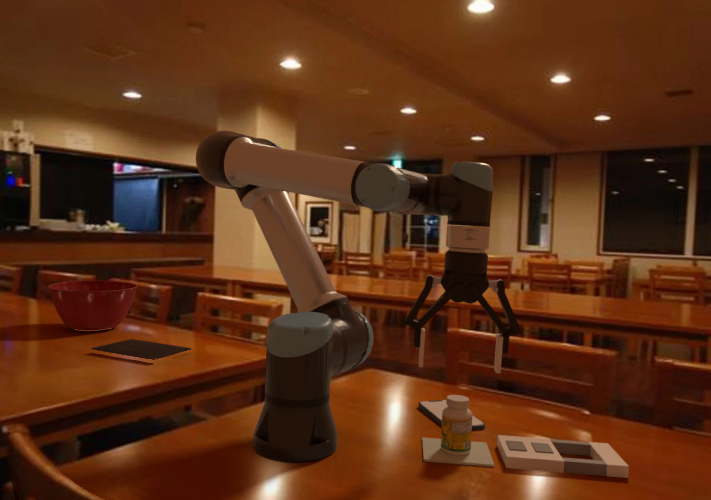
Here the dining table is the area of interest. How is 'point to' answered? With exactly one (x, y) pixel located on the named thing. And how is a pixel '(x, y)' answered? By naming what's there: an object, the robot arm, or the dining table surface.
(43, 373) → the dining table surface
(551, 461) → the white fixture tray
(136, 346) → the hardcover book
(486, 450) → the rubber mat
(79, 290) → the mixing bowl
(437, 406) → the phone case
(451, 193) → the robot arm
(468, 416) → the supplement bottle
